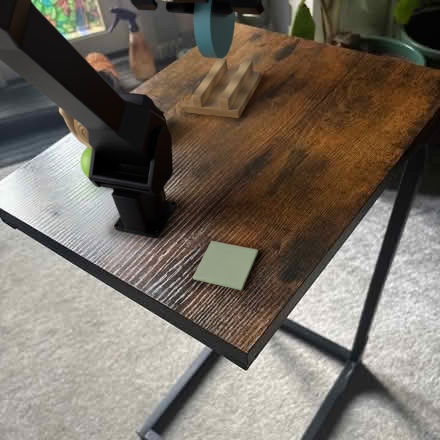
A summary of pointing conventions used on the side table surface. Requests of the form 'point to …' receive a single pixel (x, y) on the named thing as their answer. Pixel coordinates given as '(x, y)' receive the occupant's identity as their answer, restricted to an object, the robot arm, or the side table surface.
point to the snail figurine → (79, 139)
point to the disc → (212, 31)
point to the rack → (225, 90)
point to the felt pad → (226, 265)
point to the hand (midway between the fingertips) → (218, 12)
